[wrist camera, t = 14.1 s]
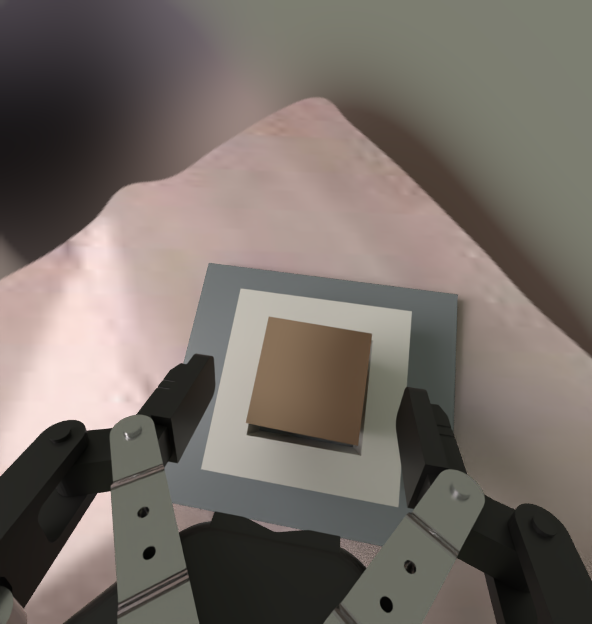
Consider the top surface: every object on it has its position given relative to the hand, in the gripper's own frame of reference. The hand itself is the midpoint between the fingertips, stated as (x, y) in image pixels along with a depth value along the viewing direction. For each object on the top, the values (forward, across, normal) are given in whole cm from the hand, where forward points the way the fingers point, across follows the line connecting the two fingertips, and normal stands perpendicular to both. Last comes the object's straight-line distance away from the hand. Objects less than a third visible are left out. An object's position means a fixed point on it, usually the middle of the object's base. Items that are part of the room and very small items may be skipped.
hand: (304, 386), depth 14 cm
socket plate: (+7, 0, +6) cm, 9 cm away
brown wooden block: (+6, 0, +6) cm, 8 cm away
